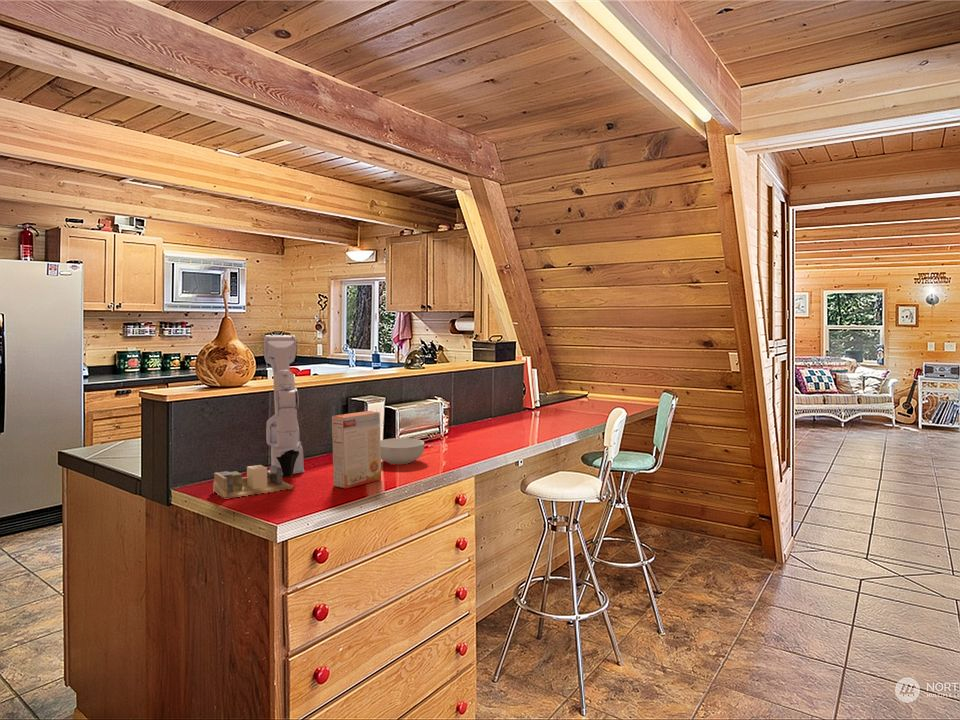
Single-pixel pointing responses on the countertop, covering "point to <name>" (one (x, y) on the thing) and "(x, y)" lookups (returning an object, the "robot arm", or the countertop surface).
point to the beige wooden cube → (256, 476)
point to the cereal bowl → (401, 450)
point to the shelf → (242, 485)
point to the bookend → (276, 474)
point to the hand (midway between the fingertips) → (287, 476)
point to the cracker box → (356, 449)
